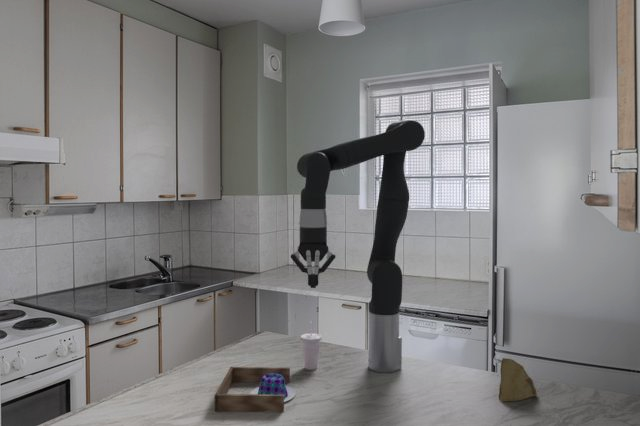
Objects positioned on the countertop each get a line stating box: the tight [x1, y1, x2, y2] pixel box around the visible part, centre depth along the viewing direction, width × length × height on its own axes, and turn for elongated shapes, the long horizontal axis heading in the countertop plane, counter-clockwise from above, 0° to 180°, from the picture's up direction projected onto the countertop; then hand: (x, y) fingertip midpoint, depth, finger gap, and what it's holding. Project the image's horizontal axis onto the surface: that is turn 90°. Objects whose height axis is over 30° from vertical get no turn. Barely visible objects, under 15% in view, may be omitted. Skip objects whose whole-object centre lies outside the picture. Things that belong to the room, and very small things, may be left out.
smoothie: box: [300, 321, 322, 371], centre depth 145 cm, size 6×6×14 cm
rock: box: [498, 357, 538, 403], centre depth 124 cm, size 11×9×10 cm
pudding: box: [249, 373, 296, 403], centre depth 125 cm, size 12×12×5 cm
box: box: [214, 366, 291, 413], centre depth 125 cm, size 17×19×4 cm
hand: (313, 287), depth 132 cm, fingers closed
